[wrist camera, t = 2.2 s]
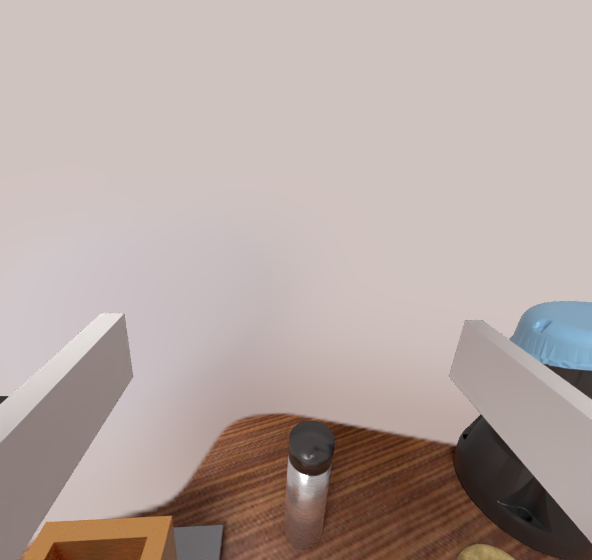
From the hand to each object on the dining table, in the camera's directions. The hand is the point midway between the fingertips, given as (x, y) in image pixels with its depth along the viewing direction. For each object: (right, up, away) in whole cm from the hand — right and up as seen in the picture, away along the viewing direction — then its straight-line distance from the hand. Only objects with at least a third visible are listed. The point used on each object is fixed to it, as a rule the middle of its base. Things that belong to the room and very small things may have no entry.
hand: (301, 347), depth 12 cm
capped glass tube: (0, -23, +19) cm, 30 cm away
